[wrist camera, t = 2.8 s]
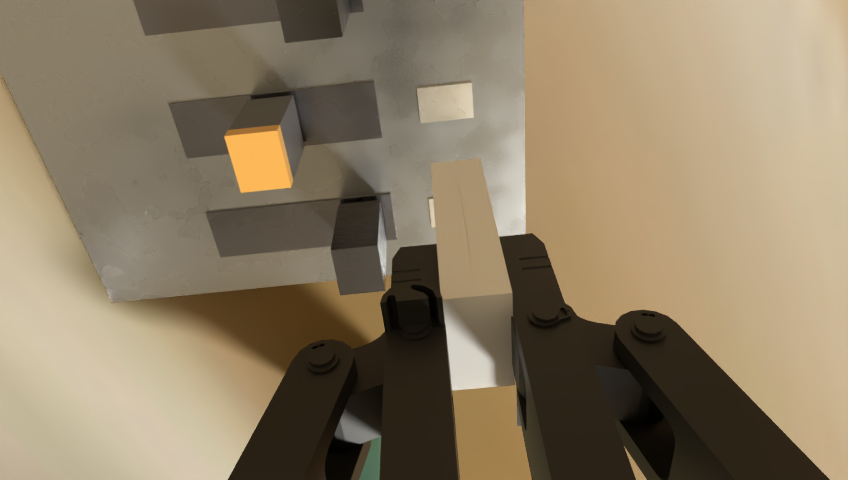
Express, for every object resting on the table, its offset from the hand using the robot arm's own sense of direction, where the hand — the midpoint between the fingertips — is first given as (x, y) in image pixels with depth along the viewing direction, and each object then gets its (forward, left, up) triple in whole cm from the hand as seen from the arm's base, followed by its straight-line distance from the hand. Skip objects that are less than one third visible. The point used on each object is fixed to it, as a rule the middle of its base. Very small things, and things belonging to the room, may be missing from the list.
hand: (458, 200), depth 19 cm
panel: (-7, 0, -11) cm, 13 cm away
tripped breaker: (-7, 0, -9) cm, 11 cm away
